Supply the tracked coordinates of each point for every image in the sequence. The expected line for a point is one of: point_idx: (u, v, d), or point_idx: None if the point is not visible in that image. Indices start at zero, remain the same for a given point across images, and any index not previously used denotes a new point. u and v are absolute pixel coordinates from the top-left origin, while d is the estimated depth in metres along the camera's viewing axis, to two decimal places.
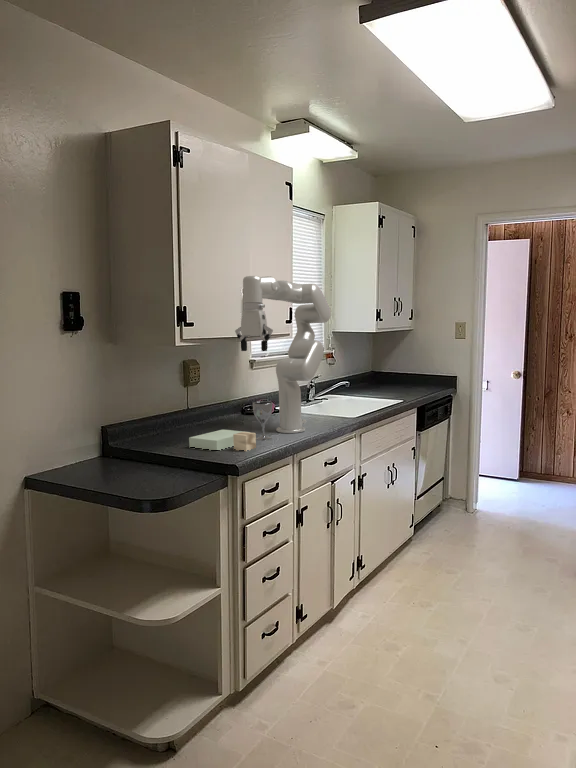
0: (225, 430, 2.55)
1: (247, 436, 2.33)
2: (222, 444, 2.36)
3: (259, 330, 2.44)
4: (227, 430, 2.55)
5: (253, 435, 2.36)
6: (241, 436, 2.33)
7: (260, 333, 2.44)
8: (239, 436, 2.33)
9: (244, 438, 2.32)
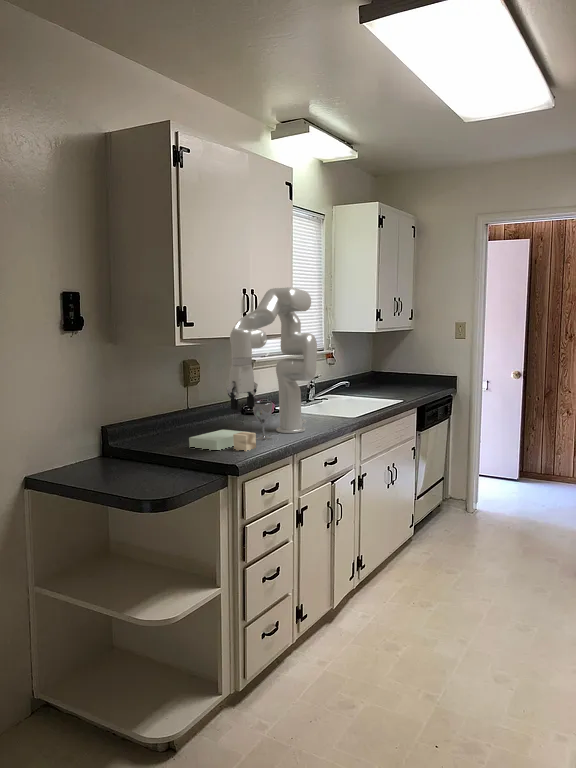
0: (225, 430, 2.55)
1: (247, 436, 2.32)
2: (222, 444, 2.36)
3: (253, 385, 2.36)
4: (227, 430, 2.55)
5: (253, 435, 2.35)
6: (241, 436, 2.33)
7: (253, 388, 2.36)
8: (239, 436, 2.33)
9: (244, 438, 2.32)
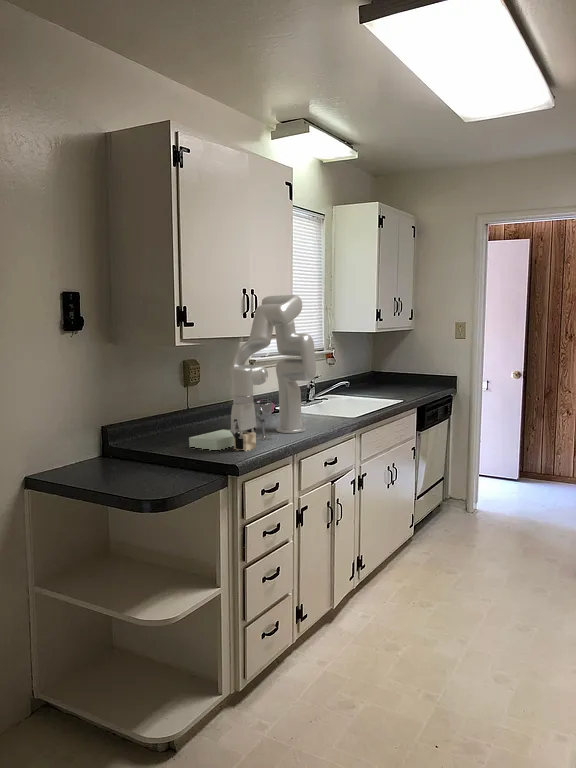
0: (225, 430, 2.55)
1: (247, 436, 2.32)
2: (222, 444, 2.36)
3: (255, 422, 2.38)
4: (227, 430, 2.55)
5: (253, 435, 2.35)
6: None
7: (255, 425, 2.38)
8: None
9: (244, 438, 2.32)
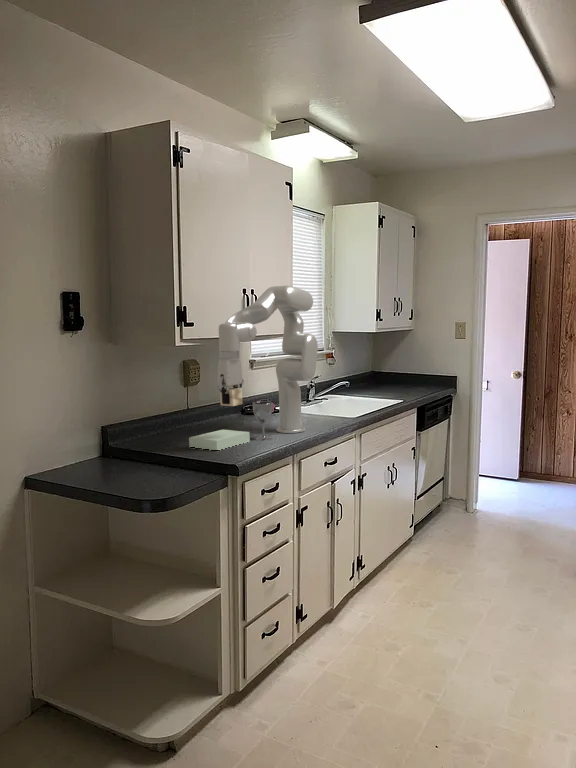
0: (225, 430, 2.55)
1: (233, 391, 2.35)
2: (222, 444, 2.36)
3: (241, 378, 2.41)
4: (227, 430, 2.55)
5: (239, 390, 2.39)
6: (228, 391, 2.36)
7: (241, 381, 2.41)
8: None
9: (231, 393, 2.35)
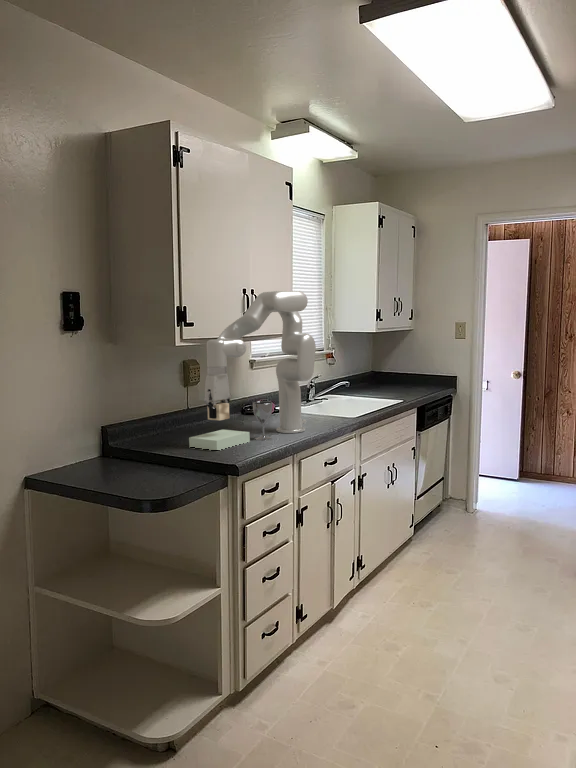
0: (225, 430, 2.55)
1: (220, 405, 2.41)
2: (222, 444, 2.36)
3: (228, 393, 2.46)
4: (227, 430, 2.55)
5: (226, 405, 2.44)
6: None
7: (229, 396, 2.46)
8: None
9: (217, 407, 2.40)
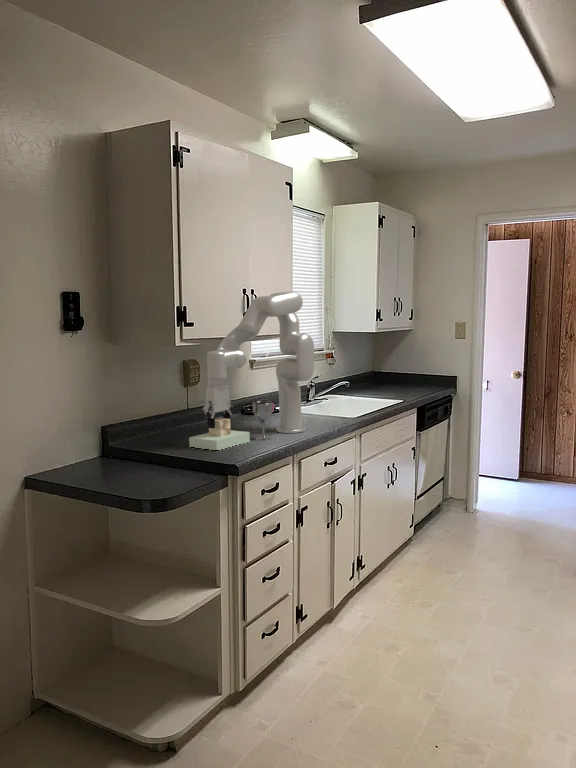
0: None
1: (221, 422, 2.42)
2: (222, 444, 2.36)
3: (229, 404, 2.47)
4: None
5: (227, 421, 2.45)
6: (216, 422, 2.42)
7: (229, 407, 2.47)
8: None
9: (219, 424, 2.41)
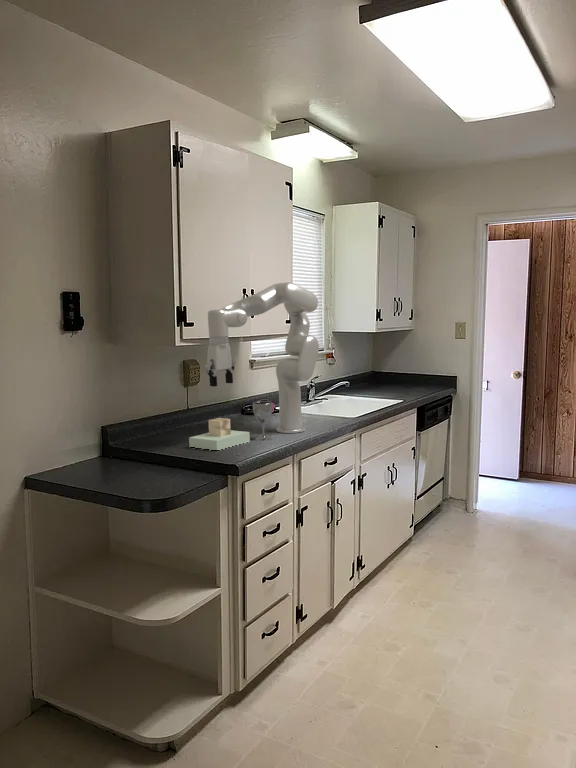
0: None
1: (221, 422, 2.42)
2: (222, 444, 2.36)
3: (231, 363, 2.48)
4: None
5: (227, 421, 2.45)
6: (216, 422, 2.42)
7: (231, 366, 2.48)
8: (214, 422, 2.43)
9: (219, 424, 2.41)
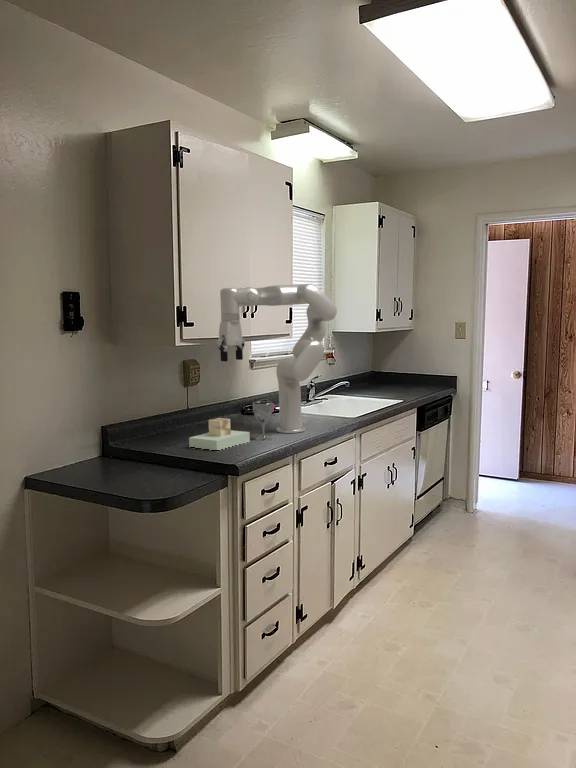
0: None
1: (221, 422, 2.42)
2: (222, 444, 2.36)
3: (241, 340, 2.58)
4: None
5: (227, 421, 2.45)
6: (216, 422, 2.42)
7: (241, 343, 2.58)
8: (214, 422, 2.43)
9: (219, 424, 2.41)
